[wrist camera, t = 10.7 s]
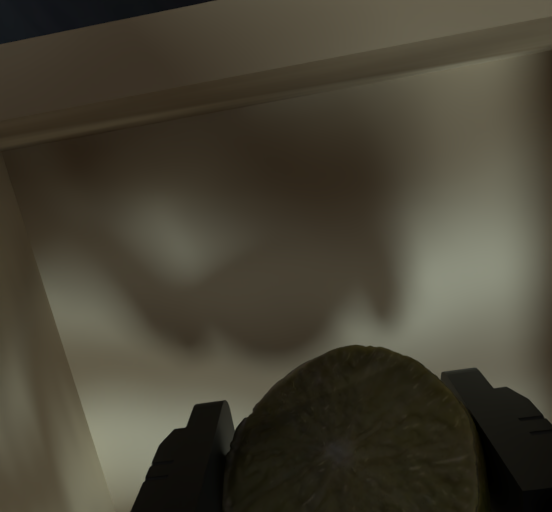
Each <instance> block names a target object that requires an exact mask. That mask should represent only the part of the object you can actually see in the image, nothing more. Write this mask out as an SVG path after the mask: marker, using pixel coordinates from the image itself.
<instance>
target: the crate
mask: <svg viewBox="0 0 552 512" xmlns="http://www.w3.org/2000/svg"><path fill="white" fill-rule="evenodd" d="M349 345H363V346H365V347H366V346H370V345H371V346H373V347H384V348H387V349H390V350H392V351H394V352H397V353H400V354H402V355H404V356H409V357H411V358H413V359H415V360H417V361H419V362H420V363H422V364H423V365H424V366H425V367H426V368H427V369H429V370H430V371H431V372H432V373H433V374H435V375H436V376H438V378H439V379H440V380H441V373H442V372H443V371H451V370H459V369H466V368H474V367H475V368H477V369H478V370H479V371H480V372H481V373H482V374H483V376H484V377H485V378H486V379H487V381H488V382H489V383H490V384H491V386H492V387H493V388H499V387H508V388H510V389H512V390H514V391H515V392H517V393H519V394H521V395H523V396H524V397H526V398H528V399H529V400H530V401H531V402H532V403H533V404H534V405H535V406H536V407H537V409H538V410H539V411H540V412H541V413H542V414H543V416H544V418H547V420H548V421H549V422H550V423H551V424H552V0H216V1H211V2H206V3H201V4H196V5H191V6H186V7H181V8H176V9H171V10H166V11H161V12H157V13H152V14H147V15H142V16H137V17H132V18H127V19H122V20H117V21H112V22H107V23H103V24H98V25H93V26H88V27H83V28H78V29H73V30H68V31H63V32H58V33H53V34H48V35H44V36H39V37H34V38H29V39H24V40H19V41H14V42H9V43H4V44H0V512H130V511H131V509H132V507H133V504H134V502H135V500H136V497H137V495H138V493H139V490H140V488H141V486H142V484H143V482H145V477H146V474H147V472H148V470H149V467H150V466H152V460H153V458H154V456H155V453H156V451H157V449H158V447H159V445H160V444H161V443H162V441H163V440H164V439H165V438H166V437H167V436H168V435H169V434H170V433H171V432H172V431H173V430H174V429H178V428H185V427H186V426H187V423H188V420H189V418H190V415H191V412H192V409H193V407H194V405H195V404H199V403H207V402H214V401H222V400H226V401H227V402H228V404H229V407H230V411H231V415H232V420H233V424H234V429H236V427H237V426H238V425H239V424H240V422H241V421H242V420H243V419H244V418H246V417H248V416H249V415H250V414H252V412H253V411H252V410H253V408H254V407H255V405H256V404H257V403H258V402H259V401H260V400H261V399H262V398H263V397H264V395H265V394H266V393H267V392H268V391H269V390H270V389H271V387H273V385H275V384H276V383H277V382H278V381H279V380H281V379H282V378H284V377H285V376H286V375H287V374H288V373H290V372H291V371H292V370H294V369H295V368H297V367H298V366H300V365H301V364H303V363H305V362H307V361H309V360H312V359H313V358H315V357H318V356H320V355H322V354H324V353H326V352H328V351H330V350H333V349H336V348H339V347H344V346H349Z"/></svg>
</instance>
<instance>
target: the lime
mask: <svg viewBox="0 0 552 512" xmlns="http://www.w3.org/2000/svg"><path fill="white" fill-rule="evenodd" d="M252 411H253V412H252V414H250V415H249V416H248V417H246V418H244V419H243V420H242V421H241V422H240V424H239V425H238V426H237V427H236V429H235V433H234V436H233V440H232V441H231V443H230V451H229V452H228V453H227V454H226V455H225V460H226V465H225V473H224V484H223V499H222V512H491V506H490V492H489V489H488V478H487V468H486V459H485V456H484V450H483V447H482V442H481V438H480V435H479V433H478V431H477V429H476V426H475V423H474V422H473V419H472V418H471V416H470V414H469V413H468V411H467V409H466V408H465V406H464V405H463V403H462V402H461V401H460V400H459V399H458V398H457V397H456V395H455V394H454V393H453V392H452V390H451V389H449V388H448V387H447V386H446V385H445V383H444V382H443V381H441V380H440V379H439V378H438V376H436V375H435V374H433V373H432V372H431V371H430V370H429V369H427V368H426V367H425V366H424V365H423V364H422V363H420V362H419V361H417V360H415V359H413V358H411V357H409V356H404V355H402V354H400V353H397V352H394V351H392V350H390V349H387V348H384V347H373V346H371V345H370V346H366V347H365V346H363V345H349V346H344V347H339V348H336V349H333V350H330V351H328V352H326V353H324V354H322V355H320V356H318V357H315V358H313V359H312V360H309V361H307V362H305V363H303V364H301V365H300V366H298V367H297V368H295V369H294V370H292V371H291V372H290V373H288V374H287V375H286V376H285V377H284V378H282V379H281V380H279V381H278V382H277V383H276V384H275V385H273V387H271V389H270V390H269V391H268V392H267V393H266V394H265V395H264V397H263V398H262V399H261V400H260V401H259V402H258V403H257V404H256V405H255V407H254V408H253V410H252Z"/></svg>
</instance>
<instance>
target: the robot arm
mask: <svg viewBox="0 0 552 512" xmlns="http://www.w3.org/2000/svg"><path fill="white" fill-rule="evenodd" d="M441 381H443V382H444V383H445V385H446V386H447V387H448V388H449V389H451V390H452V392H453V393H454V394H455V395H456V397H457V398H458V399H459V400H460V401H461V402H462V403H463V405H464V406H465V408H466V409H467V411H468V413H469V414H470V416H471V418H472V419H473V422H474V423H475V426H476V429H477V431H478V433H479V435H480V438H481V442H482V447H483V450H484V456H485V459H486V468H487V478H488V489H489V492H490V506H491V512H552V424H551V423H550V422H549V421H548V420H547V418H544V416H543V414H542V413H541V412H540V411H539V410H538V409H537V407H536V406H535V405H534V404H533V403H532V402H531V401H530V400H529V399H528V398H526V397H524V396H523V395H521V394H519V393H517V392H515V391H514V390H512V389H510V388H508V387H499V388H493V387H492V386H491V384H490V383H489V382H488V381H487V379H486V378H485V377H484V376H483V374H482V373H481V372H480V371H479V370H478V369H477V368H475V367H474V368H466V369H459V370H451V371H443V372H442V373H441ZM234 433H235V429H234V424H233V420H232V415H231V411H230V407H229V404H228V402H227V401H226V400H222V401H214V402H207V403H199V404H195V405H194V407H193V409H192V412H191V415H190V418H189V420H188V423H187V426H186V427H185V428H178V429H174V430H173V431H172V432H171V433H170V434H169V435H168V436H167V437H166V438H165V439H164V440H163V441H162V443H161V444H160V445H159V447H158V449H157V451H156V453H155V456H154V458H153V460H152V466H150V467H149V470H148V472H147V474H146V477H145V482H143V484H142V486H141V488H140V490H139V493H138V495H137V497H136V500H135V502H134V504H133V507H132V509H131V511H130V512H222V499H223V484H224V473H225V465H226V460H225V455H226V454H227V453H228V452H229V451H230V443H231V441H232V440H233V436H234Z"/></svg>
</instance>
